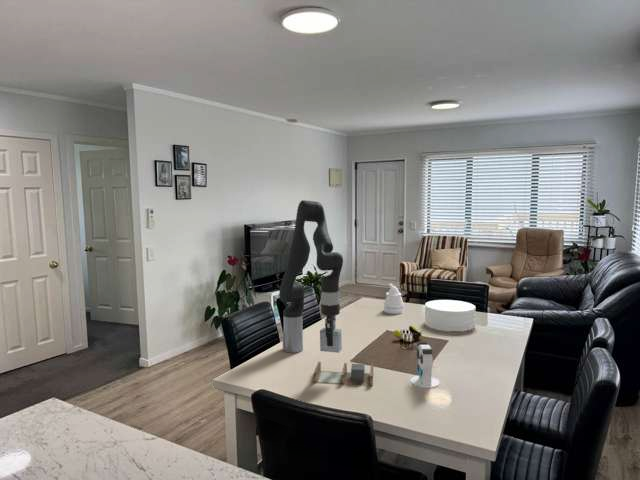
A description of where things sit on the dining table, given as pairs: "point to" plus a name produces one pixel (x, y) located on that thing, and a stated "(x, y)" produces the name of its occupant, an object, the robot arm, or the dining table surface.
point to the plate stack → (450, 315)
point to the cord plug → (357, 372)
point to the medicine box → (336, 341)
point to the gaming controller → (415, 332)
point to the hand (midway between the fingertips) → (330, 343)
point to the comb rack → (340, 377)
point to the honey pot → (393, 301)
